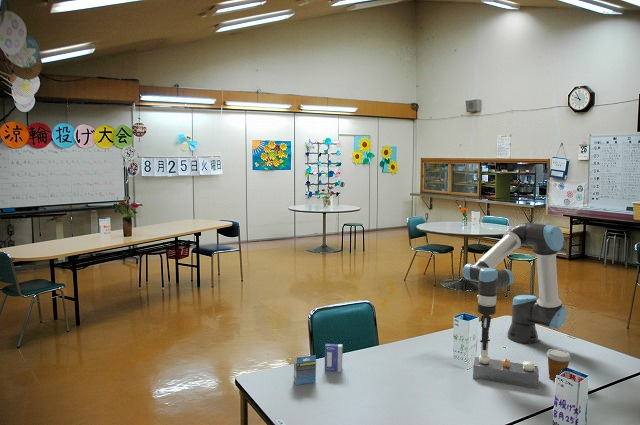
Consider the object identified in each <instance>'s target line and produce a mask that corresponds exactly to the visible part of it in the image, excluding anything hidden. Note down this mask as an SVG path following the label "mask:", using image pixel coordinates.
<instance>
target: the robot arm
mask: <svg viewBox="0 0 640 425" xmlns="http://www.w3.org/2000/svg"><path fill="white" fill-rule="evenodd" d="M564 241H565V236H564V233H563V231H562V229H561V228H560V227H559V226H556V225H552V224H544V223H535V222H534V223H533V222H522V223H520V224H517V225H515V226H513V227H511V228H509V229H508V230H507V231H506V232H504V233H503V236H502V238H501V239H500V240H499V241H497V243H496V244H494V245H493V246H492V247H491V248H490V249H488V251H487V252H486V253H484V255H482V256H481V257H480V258H479V259H478V260H477V261H476V262H475V263H474V264H473V263H466V264H464V266H463V269H462V276H463V278H464V279H465V280H469V281H471V282H477V283H478V294H477V295H476V298H477V302H478V303H477V312H478V313H479V314H482V315H481V317H480V321H481V324H480V326H481V339H480V340H479V342H480V343H481V345H480V346H481V347H480V348H481V349H480V355H481V356H483V357H487V356H489V354H488V352H489V342H490V341H491V339H489V338H490V337H489V336H490V335H489V334H490V333H489V331H490V327H491V320H492V316H493V315H495V314H496V311H497V299H498V298H497V296H498V295H497V290H498V289H503V288H506V287H509V286H510V285H513V283H514V280H515V278H514V274H513V272H512V271H511V270H510V269H509V268H508V269H507V268H504V269H496V267H497V266H498V265H499V264H500V263H501V262H502V261H503V260H504V259H506V258H507V257H508V256H510V254H511V253H512V252H513V251H514V250H517V249H520V248H521V247H522V246H526V247H532V252H533V254H534V255H536V267H537V268H536V269H537V282H538V283H537V284H538V295H539V296H538V297H539V298H538V297H537V296H536V295H532V294H520V295H519V294H518V295H515V296H514V297H513V299H512V307H511V309H512V310H511V324H510V326H509V328H508V331H507V338H508V339H509V340H511V341H513V342H516V343H520V344H535V343H536V344H537V342H539V341H538V340H539V335H538V331H537V327H536V324H537V325H541V326H545V327H547V328H549V329H550V328H551V329H556V330H559V329H561V328H562V327H563V325H564V324H565V323H566V320H567V319H568V318H567V317H568V308H567V307H565V306H563V303H562V300H561V299H560V298H559V288H558V272H557V271H558V269H557V255H558V254H559V252H560V251H561V249H562V248H563V247H564V243H565V242H564Z"/></svg>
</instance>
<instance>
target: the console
mask: <svg viewBox="0 0 640 425" xmlns="http://www.w3.org/2000/svg"><path fill="white" fill-rule="evenodd" d="M472 367H473V369H472V379H473V380H479V381H485V382H492V383H495V384H496V383H497V384H503V385H510V386H514V387H515V386H516V387H520V388H525V389H526V388H527V389H533V390H537V391H538V390H539V378H540V376H539V375H540V374H539V366H538V365H534V370H533V371H525V370H524V369H523V363H519V362H512V361H510V367H503V366H502V360H499V359H493V358H490V359H489V363H488V364H481V363H480V362H479V356H475V357H474V362H473V366H472Z"/></svg>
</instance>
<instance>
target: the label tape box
mask: <svg viewBox="0 0 640 425" xmlns="http://www.w3.org/2000/svg"><path fill="white" fill-rule="evenodd" d="M295 361H296V362H294V363H293V383H294V384H295V385H296V386H301V385H306V384H312V383H316V382H317V380H316V377H317V355H316V354H314V355H306V356H298V357H297V356H296V360H295Z"/></svg>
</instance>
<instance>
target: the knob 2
mask: <svg viewBox="0 0 640 425" xmlns="http://www.w3.org/2000/svg"><path fill="white" fill-rule="evenodd" d="M522 364H523V369H524V370H525V371H533V370H534V366H535V363H534V362H532V361H528V360H526V361H522Z"/></svg>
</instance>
